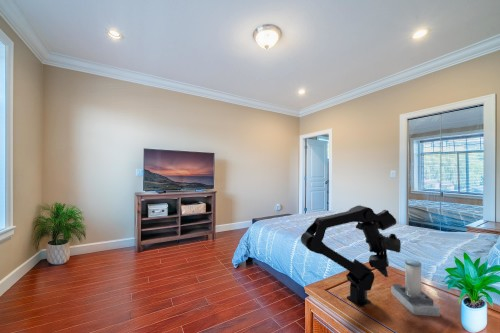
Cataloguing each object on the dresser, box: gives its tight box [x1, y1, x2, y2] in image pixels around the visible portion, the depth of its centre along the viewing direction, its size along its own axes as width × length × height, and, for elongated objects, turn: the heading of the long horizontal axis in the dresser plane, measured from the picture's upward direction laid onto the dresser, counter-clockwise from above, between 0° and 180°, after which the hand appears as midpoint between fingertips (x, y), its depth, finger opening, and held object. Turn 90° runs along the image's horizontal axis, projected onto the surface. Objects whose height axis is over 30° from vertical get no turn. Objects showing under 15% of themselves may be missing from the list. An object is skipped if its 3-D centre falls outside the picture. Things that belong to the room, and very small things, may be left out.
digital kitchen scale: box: [390, 283, 441, 317], centre depth 84 cm, size 9×14×4 cm, turn 175°
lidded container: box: [404, 258, 422, 298], centre depth 84 cm, size 5×5×13 cm
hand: (386, 269), depth 88 cm, fingers open, 9 cm apart
